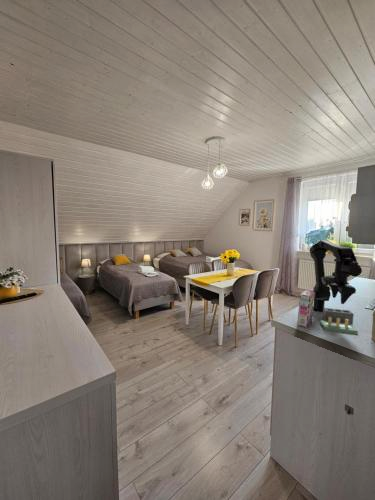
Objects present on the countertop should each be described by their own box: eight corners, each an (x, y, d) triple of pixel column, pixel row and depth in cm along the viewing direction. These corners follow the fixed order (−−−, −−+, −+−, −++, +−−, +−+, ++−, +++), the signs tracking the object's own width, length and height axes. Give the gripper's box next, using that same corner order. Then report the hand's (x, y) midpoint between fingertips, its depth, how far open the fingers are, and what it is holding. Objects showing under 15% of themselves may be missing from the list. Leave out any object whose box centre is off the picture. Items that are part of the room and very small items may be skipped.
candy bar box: (307, 328, 110) (310, 296, 108) (297, 325, 113) (299, 294, 111) (312, 321, 119) (314, 291, 117) (302, 318, 122) (304, 289, 120)
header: (319, 322, 117) (320, 313, 116) (350, 326, 112) (351, 317, 112) (324, 329, 109) (324, 319, 108) (357, 334, 105) (358, 323, 104)
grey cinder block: (322, 318, 123) (323, 307, 122) (348, 321, 119) (349, 310, 118) (325, 321, 118) (326, 310, 117) (352, 325, 114) (353, 313, 114)
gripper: (317, 266, 124) (314, 293, 127) (332, 275, 106) (328, 306, 108) (339, 268, 122) (336, 295, 124) (358, 276, 104) (354, 308, 106)
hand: (338, 300), depth 116 cm, fingers open, 9 cm apart
